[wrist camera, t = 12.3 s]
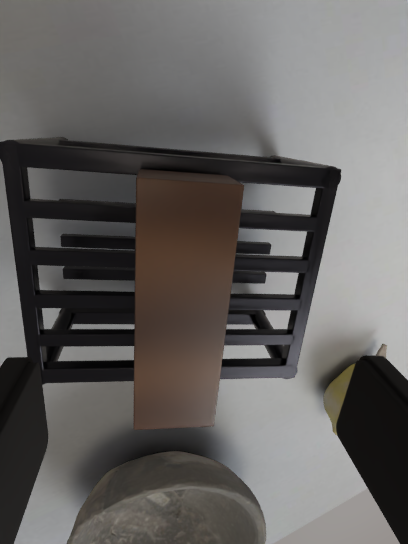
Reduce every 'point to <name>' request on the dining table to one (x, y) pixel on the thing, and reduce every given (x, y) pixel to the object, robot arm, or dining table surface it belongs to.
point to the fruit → (341, 391)
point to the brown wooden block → (182, 294)
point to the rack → (121, 263)
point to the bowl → (170, 504)
